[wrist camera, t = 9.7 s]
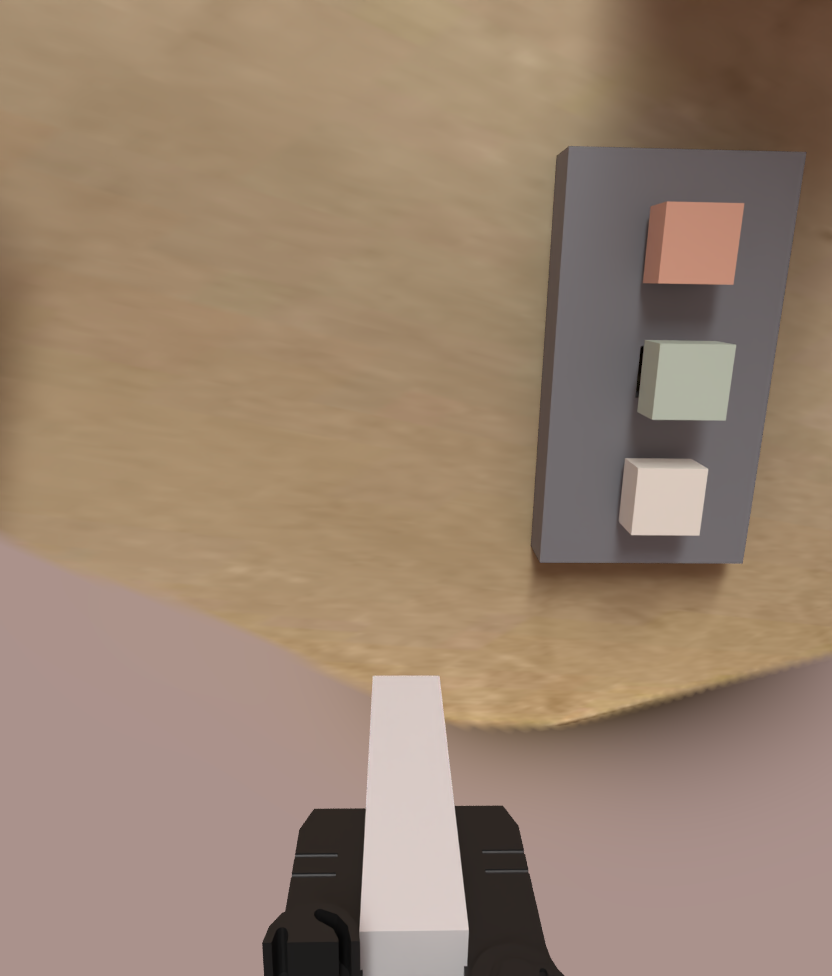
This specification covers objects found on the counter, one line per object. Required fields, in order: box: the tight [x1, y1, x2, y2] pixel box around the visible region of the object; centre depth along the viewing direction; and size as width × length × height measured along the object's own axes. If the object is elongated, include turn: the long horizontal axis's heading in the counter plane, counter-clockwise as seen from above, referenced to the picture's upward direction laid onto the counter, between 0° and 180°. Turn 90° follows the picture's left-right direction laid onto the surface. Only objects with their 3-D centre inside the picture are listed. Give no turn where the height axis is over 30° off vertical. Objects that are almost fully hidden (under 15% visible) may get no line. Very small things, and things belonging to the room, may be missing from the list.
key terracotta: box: [643, 201, 744, 285], centre depth 39 cm, size 4×4×5 cm
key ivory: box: [619, 458, 708, 536], centre depth 43 cm, size 4×4×5 cm
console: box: [531, 146, 806, 563], centre depth 43 cm, size 13×24×3 cm, turn 179°
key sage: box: [637, 340, 736, 421], centre depth 40 cm, size 4×4×5 cm
